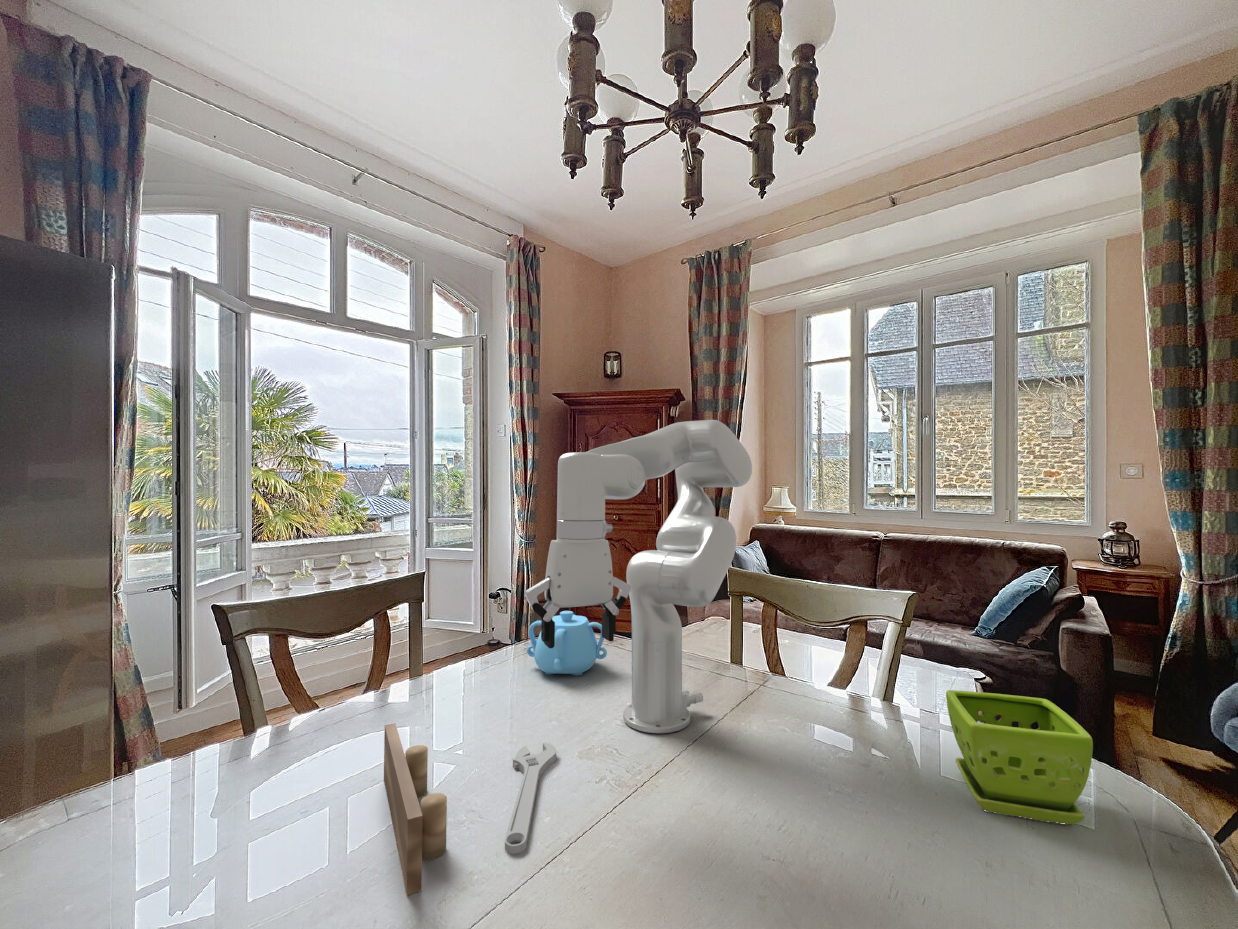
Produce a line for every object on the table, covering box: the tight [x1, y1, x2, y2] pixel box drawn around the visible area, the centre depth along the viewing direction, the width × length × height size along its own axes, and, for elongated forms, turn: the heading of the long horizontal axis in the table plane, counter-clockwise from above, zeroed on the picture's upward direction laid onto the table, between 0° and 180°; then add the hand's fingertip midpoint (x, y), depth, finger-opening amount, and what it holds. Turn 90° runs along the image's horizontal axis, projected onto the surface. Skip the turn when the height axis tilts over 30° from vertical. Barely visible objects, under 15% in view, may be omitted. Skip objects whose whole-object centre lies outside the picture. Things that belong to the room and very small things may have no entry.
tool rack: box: [383, 722, 448, 896], centre depth 71 cm, size 5×26×8 cm, turn 29°
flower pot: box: [945, 689, 1094, 826], centre depth 76 cm, size 14×14×13 cm
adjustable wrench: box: [504, 742, 557, 855], centre depth 77 cm, size 25×6×2 cm, turn 177°
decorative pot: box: [526, 610, 608, 676], centre depth 130 cm, size 16×16×14 cm
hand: (579, 642), depth 84 cm, fingers open, 9 cm apart
